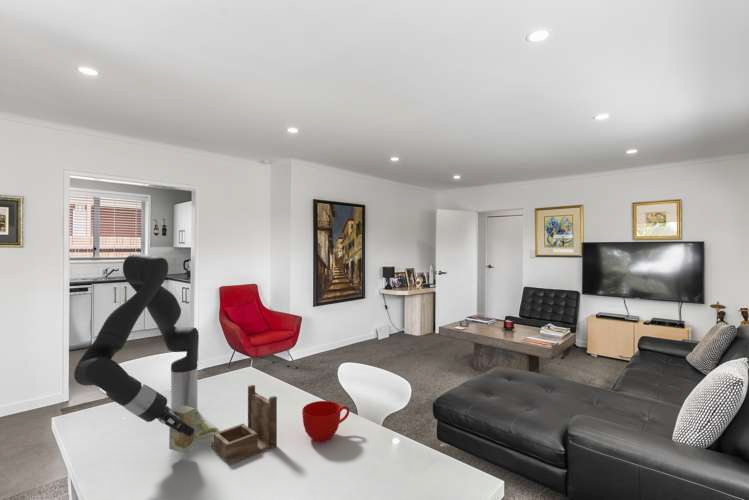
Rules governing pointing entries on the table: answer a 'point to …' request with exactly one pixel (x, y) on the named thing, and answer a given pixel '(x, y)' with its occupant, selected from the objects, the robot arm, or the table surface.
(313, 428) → the ceramic cup
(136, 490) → the table surface
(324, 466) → the table surface
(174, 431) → the skincare box
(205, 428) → the key
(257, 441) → the headboard stand
